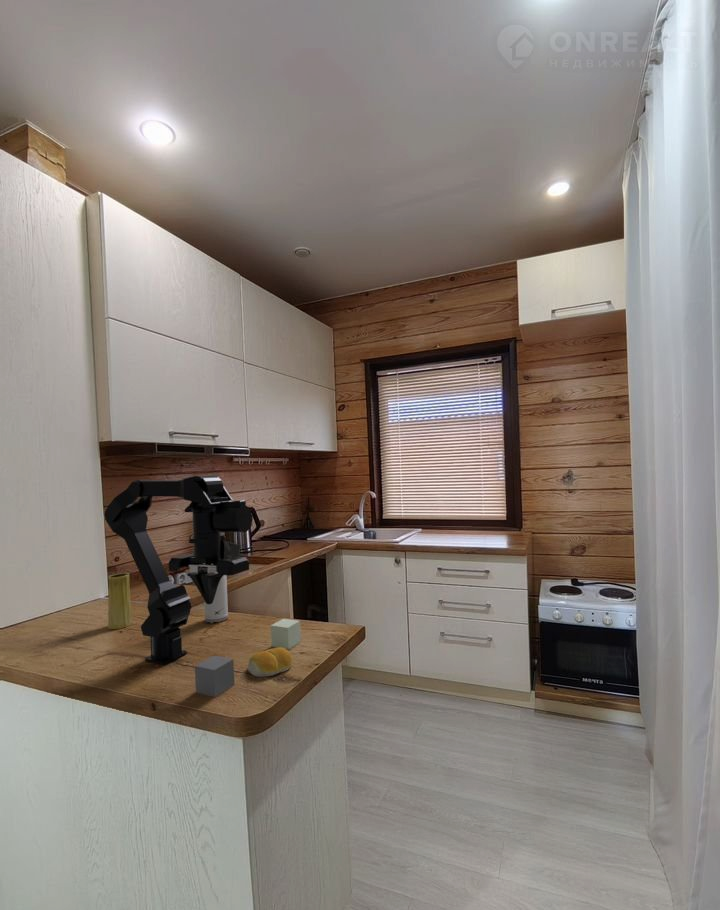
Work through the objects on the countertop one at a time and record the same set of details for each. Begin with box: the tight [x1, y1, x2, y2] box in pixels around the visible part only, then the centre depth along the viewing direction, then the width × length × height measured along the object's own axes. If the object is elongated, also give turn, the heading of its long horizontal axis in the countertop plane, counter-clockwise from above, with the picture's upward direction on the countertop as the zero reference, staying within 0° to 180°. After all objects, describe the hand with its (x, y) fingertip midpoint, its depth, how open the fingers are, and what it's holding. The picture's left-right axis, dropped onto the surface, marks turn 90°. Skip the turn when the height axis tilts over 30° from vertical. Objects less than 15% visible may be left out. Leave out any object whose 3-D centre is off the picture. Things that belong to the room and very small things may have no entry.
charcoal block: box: [194, 655, 235, 698], centre depth 84 cm, size 5×5×5 cm
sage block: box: [270, 618, 302, 650], centre depth 105 cm, size 5×5×5 cm
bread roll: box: [247, 647, 293, 678], centre depth 92 cm, size 8×9×4 cm
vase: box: [107, 572, 133, 630], centre depth 125 cm, size 6×6×14 cm
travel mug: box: [203, 559, 229, 624], centre depth 126 cm, size 6×7×20 cm
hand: (209, 603), depth 96 cm, fingers closed
